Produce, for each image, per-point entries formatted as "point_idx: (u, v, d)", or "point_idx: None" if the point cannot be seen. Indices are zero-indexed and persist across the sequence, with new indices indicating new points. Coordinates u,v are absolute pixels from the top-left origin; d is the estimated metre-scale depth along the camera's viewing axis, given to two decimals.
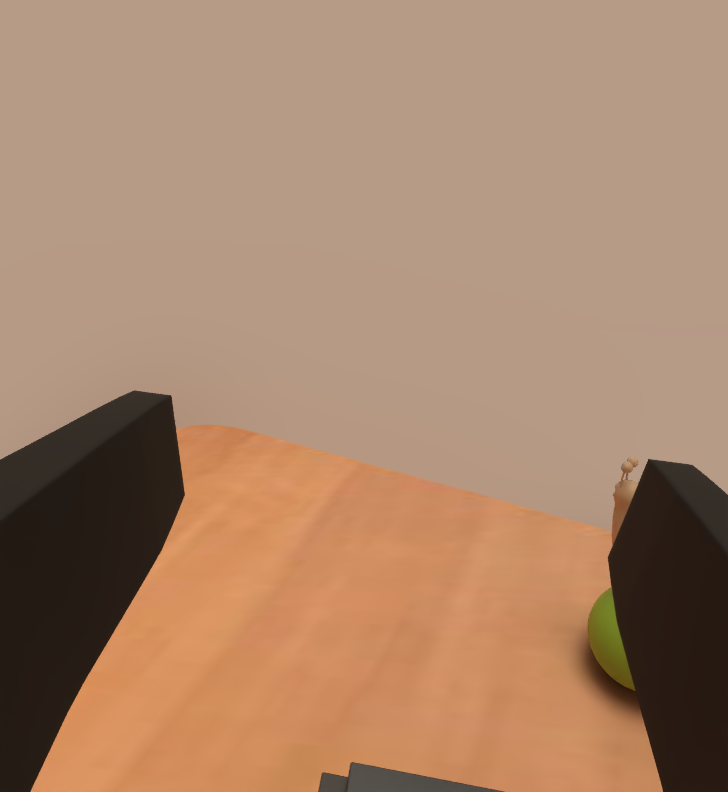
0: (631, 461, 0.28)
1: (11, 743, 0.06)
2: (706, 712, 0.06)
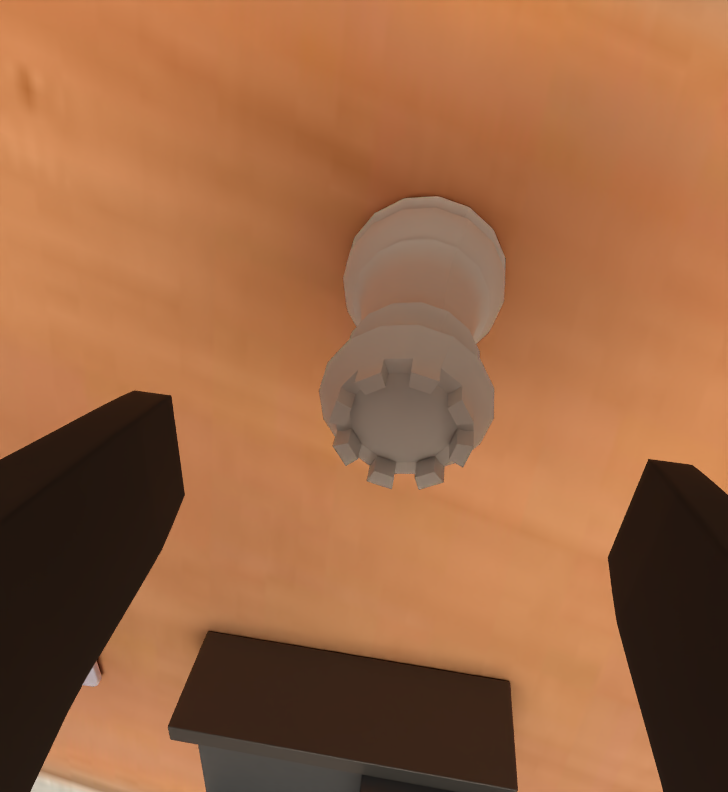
0: None
1: (11, 744, 0.06)
2: (706, 712, 0.06)
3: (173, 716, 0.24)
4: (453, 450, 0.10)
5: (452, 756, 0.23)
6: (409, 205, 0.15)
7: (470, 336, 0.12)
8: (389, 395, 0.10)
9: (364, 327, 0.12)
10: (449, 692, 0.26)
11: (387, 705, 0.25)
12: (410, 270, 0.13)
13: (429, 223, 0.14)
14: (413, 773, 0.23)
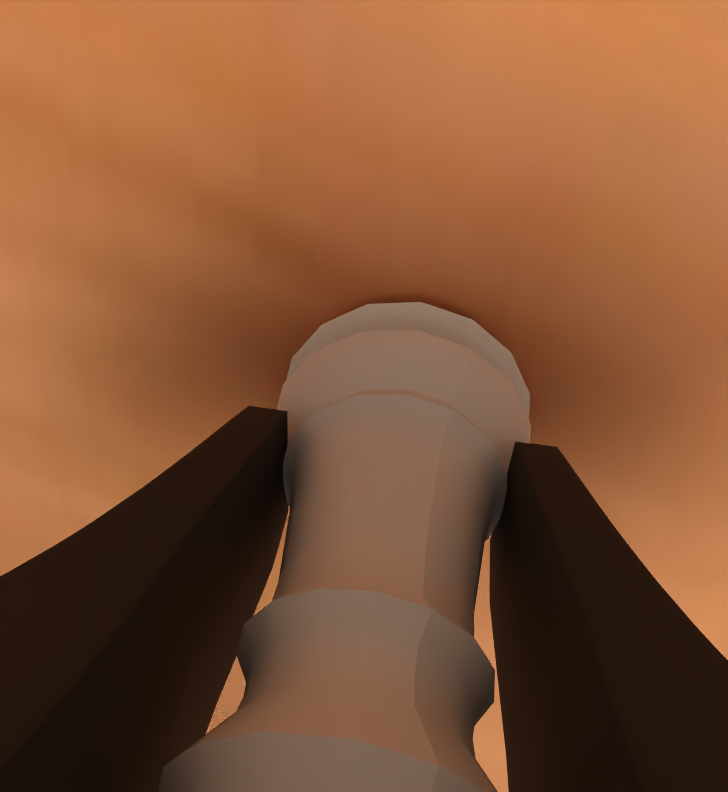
0: None
1: None
2: (531, 682, 0.07)
3: None
4: None
5: None
6: (375, 315, 0.09)
7: (477, 649, 0.06)
8: None
9: (266, 624, 0.06)
10: None
11: None
12: (367, 464, 0.07)
13: (404, 361, 0.08)
14: None
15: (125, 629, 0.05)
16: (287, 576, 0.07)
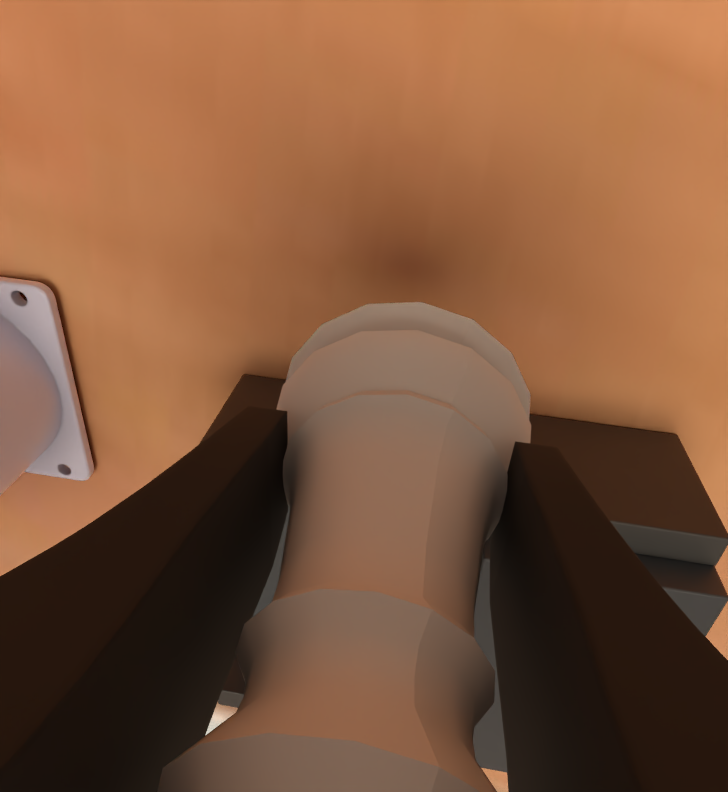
0: None
1: None
2: (531, 683, 0.07)
3: None
4: None
5: (620, 501, 0.16)
6: (375, 315, 0.09)
7: (477, 650, 0.06)
8: None
9: (266, 625, 0.06)
10: (595, 440, 0.18)
11: None
12: (368, 465, 0.07)
13: (404, 361, 0.08)
14: None
15: (125, 631, 0.05)
16: (287, 577, 0.07)
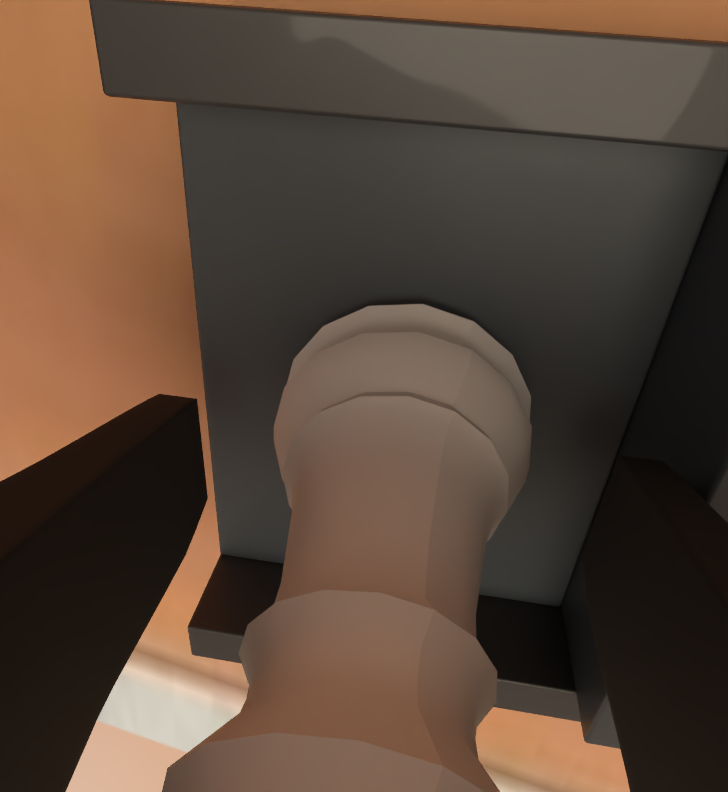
0: None
1: (46, 750, 0.06)
2: (668, 705, 0.06)
3: None
4: None
5: None
6: (377, 317, 0.09)
7: (479, 650, 0.06)
8: None
9: (269, 625, 0.06)
10: None
11: None
12: (369, 466, 0.07)
13: (406, 363, 0.08)
14: None
15: None
16: (289, 578, 0.07)
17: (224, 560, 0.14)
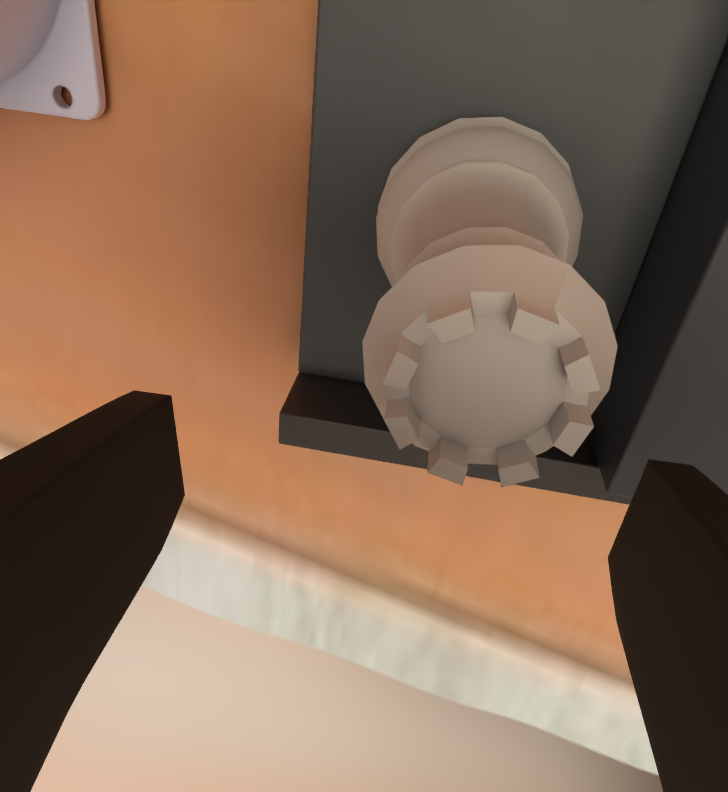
0: None
1: (12, 744, 0.06)
2: (706, 712, 0.06)
3: None
4: (561, 431, 0.07)
5: None
6: (465, 127, 0.12)
7: None
8: (473, 347, 0.07)
9: (423, 261, 0.09)
10: None
11: None
12: (476, 197, 0.10)
13: (496, 144, 0.11)
14: None
15: None
16: None
17: (302, 376, 0.16)
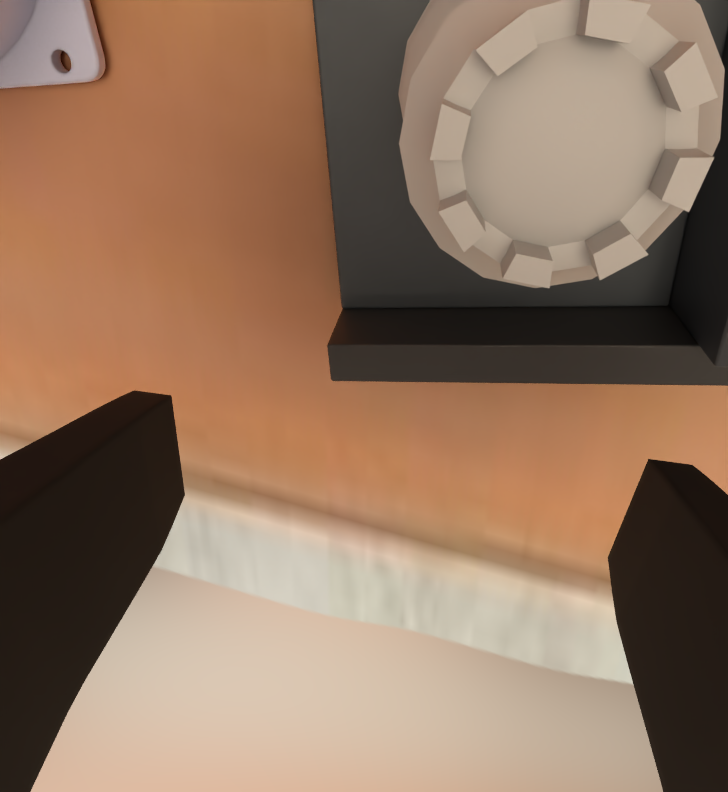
0: None
1: (11, 744, 0.06)
2: (706, 712, 0.06)
3: None
4: (670, 176, 0.05)
5: None
6: None
7: None
8: (537, 88, 0.05)
9: None
10: None
11: None
12: None
13: None
14: None
15: None
16: None
17: (346, 311, 0.15)
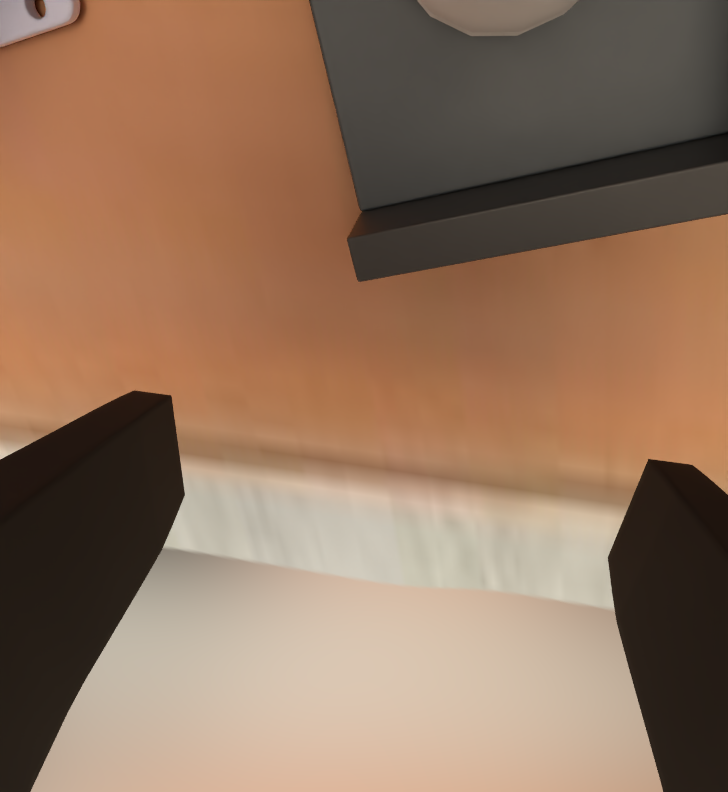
0: None
1: (11, 743, 0.06)
2: (706, 712, 0.06)
3: None
4: None
5: None
6: None
7: None
8: None
9: None
10: None
11: None
12: None
13: None
14: None
15: None
16: None
17: (365, 212, 0.14)
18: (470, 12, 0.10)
